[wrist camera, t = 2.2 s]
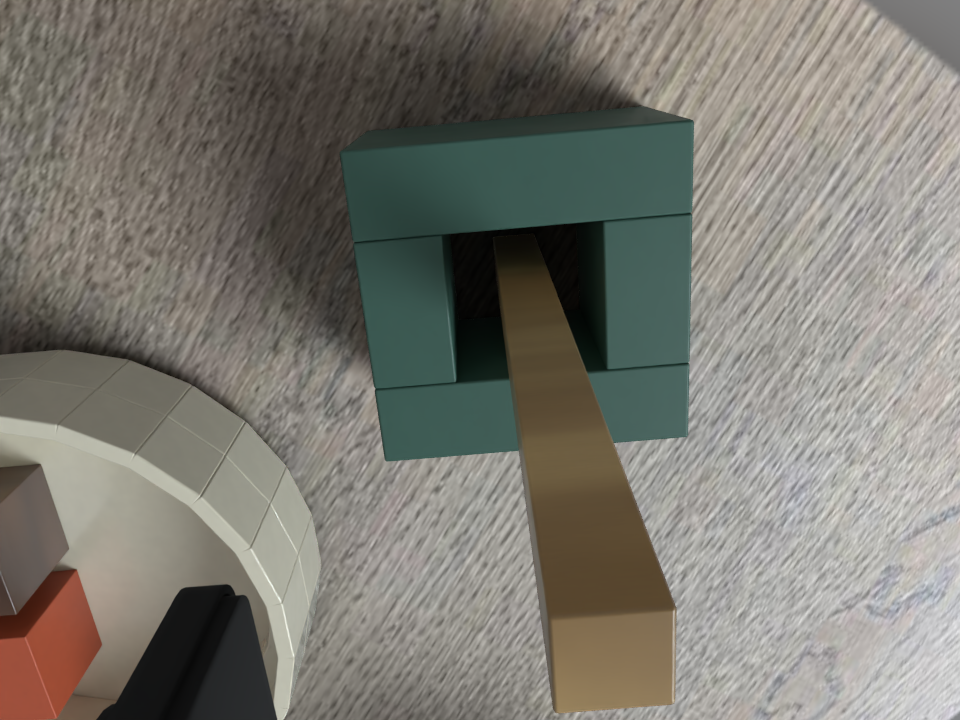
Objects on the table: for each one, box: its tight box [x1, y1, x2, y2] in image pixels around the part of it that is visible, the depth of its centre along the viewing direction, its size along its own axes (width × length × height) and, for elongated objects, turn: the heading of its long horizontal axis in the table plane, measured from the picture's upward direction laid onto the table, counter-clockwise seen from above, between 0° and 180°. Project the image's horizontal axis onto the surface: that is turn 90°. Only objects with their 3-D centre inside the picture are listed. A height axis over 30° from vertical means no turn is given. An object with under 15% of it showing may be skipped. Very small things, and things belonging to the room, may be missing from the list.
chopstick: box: [493, 233, 677, 713], centre depth 18 cm, size 2×2×20 cm
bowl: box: [0, 350, 321, 720], centre depth 29 cm, size 18×18×6 cm
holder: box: [340, 106, 694, 461], centre depth 25 cm, size 10×10×6 cm
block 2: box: [0, 570, 102, 720], centre depth 31 cm, size 4×4×4 cm
